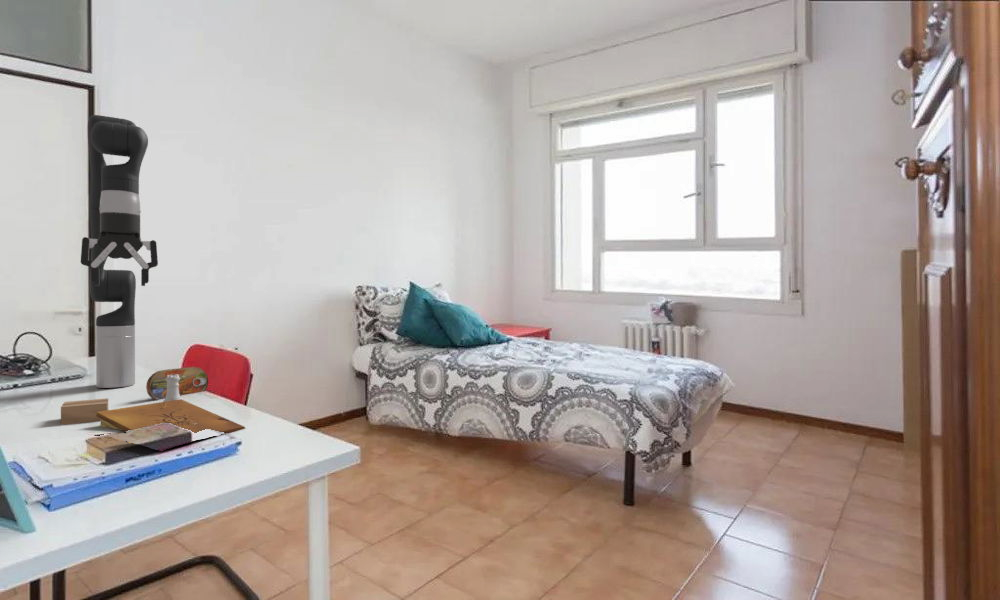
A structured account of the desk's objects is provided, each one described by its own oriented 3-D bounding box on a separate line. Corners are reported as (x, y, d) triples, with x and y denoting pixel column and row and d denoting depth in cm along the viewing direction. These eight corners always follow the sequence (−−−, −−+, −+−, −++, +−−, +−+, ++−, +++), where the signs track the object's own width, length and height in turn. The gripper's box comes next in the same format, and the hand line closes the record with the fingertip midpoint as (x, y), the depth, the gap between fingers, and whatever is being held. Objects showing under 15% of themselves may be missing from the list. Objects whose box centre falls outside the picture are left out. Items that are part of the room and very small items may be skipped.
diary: (244, 451, 123) (247, 425, 123) (157, 474, 107) (161, 444, 106) (181, 421, 134) (184, 397, 134) (93, 437, 118) (96, 410, 117)
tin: (149, 404, 144) (149, 371, 144) (144, 402, 146) (144, 370, 146) (209, 396, 157) (209, 365, 157) (203, 395, 158) (203, 365, 158)
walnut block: (64, 419, 126) (64, 401, 126) (108, 415, 131) (108, 398, 131) (60, 426, 120) (60, 407, 120) (106, 421, 124) (106, 403, 124)
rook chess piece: (173, 409, 136) (173, 376, 136) (157, 409, 137) (157, 375, 137) (187, 406, 140) (187, 374, 140) (171, 405, 141) (171, 373, 141)
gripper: (157, 217, 134) (157, 286, 134) (82, 213, 126) (82, 285, 126) (158, 213, 128) (158, 285, 127) (79, 208, 120) (79, 284, 120)
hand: (120, 285), depth 127 cm, fingers open, 8 cm apart
